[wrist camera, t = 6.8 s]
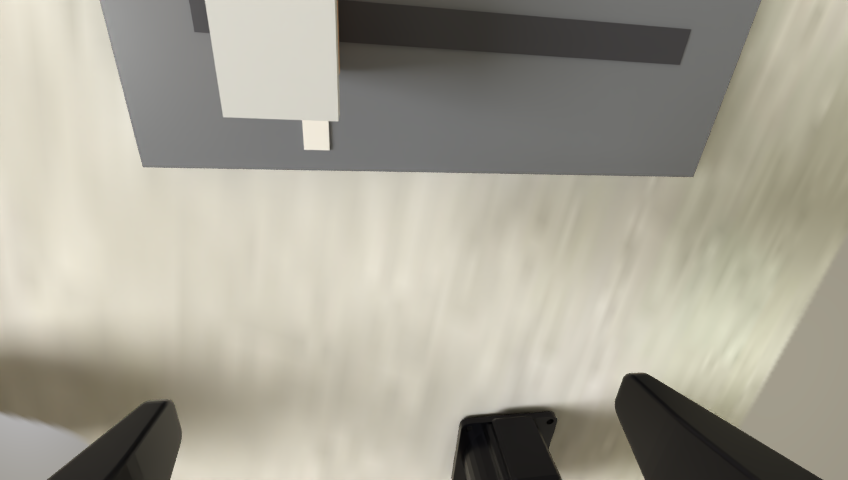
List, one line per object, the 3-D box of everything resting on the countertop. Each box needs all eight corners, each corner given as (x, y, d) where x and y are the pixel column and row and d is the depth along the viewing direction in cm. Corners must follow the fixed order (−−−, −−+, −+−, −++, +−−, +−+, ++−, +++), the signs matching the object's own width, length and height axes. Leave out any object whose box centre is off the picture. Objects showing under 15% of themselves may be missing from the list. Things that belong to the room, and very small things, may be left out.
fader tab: (346, 79, 13) (338, 121, 7) (283, 76, 13) (223, 117, 7) (343, -45, 12) (331, -115, 6) (272, -52, 12) (183, -134, 6)
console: (662, 163, 20) (695, 177, 18) (166, 151, 16) (141, 168, 14) (753, -100, 15) (809, -118, 13) (86, -198, 11) (34, -241, 10)
